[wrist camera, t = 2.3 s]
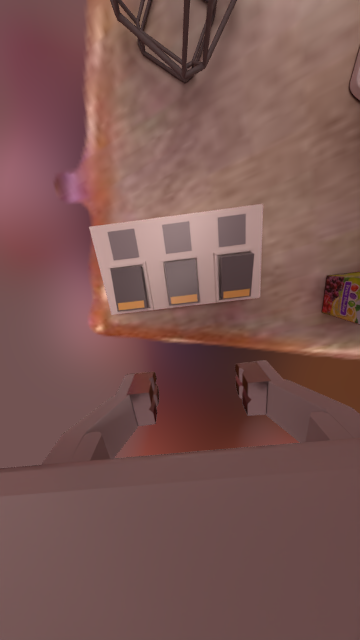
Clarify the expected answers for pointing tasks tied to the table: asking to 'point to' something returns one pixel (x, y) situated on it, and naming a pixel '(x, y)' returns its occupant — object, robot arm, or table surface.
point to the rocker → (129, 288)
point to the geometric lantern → (156, 46)
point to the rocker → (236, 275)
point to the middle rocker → (182, 282)
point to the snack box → (343, 296)
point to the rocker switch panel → (180, 250)
